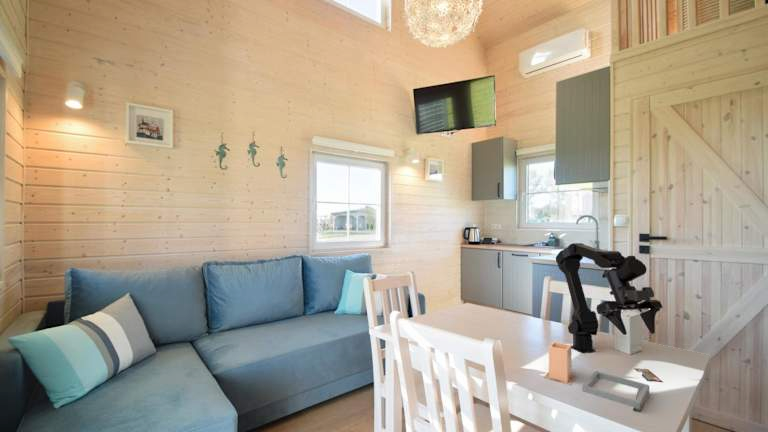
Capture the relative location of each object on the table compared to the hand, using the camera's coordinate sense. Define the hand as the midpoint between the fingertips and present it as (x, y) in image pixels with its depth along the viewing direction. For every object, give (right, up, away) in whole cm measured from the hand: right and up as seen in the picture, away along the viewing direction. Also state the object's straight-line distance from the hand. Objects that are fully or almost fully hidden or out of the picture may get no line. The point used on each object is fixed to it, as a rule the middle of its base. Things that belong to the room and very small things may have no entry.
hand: (639, 334), depth 111 cm
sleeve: (-23, -15, +3) cm, 28 cm away
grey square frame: (-11, -16, -6) cm, 20 cm away
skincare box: (+15, -16, +27) cm, 35 cm away
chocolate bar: (+7, -16, +6) cm, 19 cm away
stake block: (-23, -16, +3) cm, 28 cm away
